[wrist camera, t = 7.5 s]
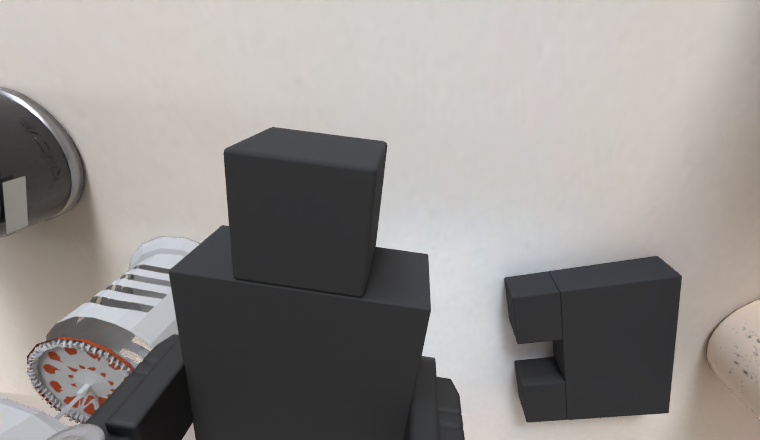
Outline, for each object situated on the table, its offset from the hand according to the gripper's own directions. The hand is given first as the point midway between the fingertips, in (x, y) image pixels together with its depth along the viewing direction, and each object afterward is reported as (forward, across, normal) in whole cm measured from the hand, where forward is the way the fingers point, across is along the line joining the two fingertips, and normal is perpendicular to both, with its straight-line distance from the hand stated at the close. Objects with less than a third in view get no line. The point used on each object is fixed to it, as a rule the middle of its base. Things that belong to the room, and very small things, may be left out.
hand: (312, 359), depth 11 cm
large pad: (+15, -17, +9) cm, 24 cm away
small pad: (+1, 0, -2) cm, 2 cm away
